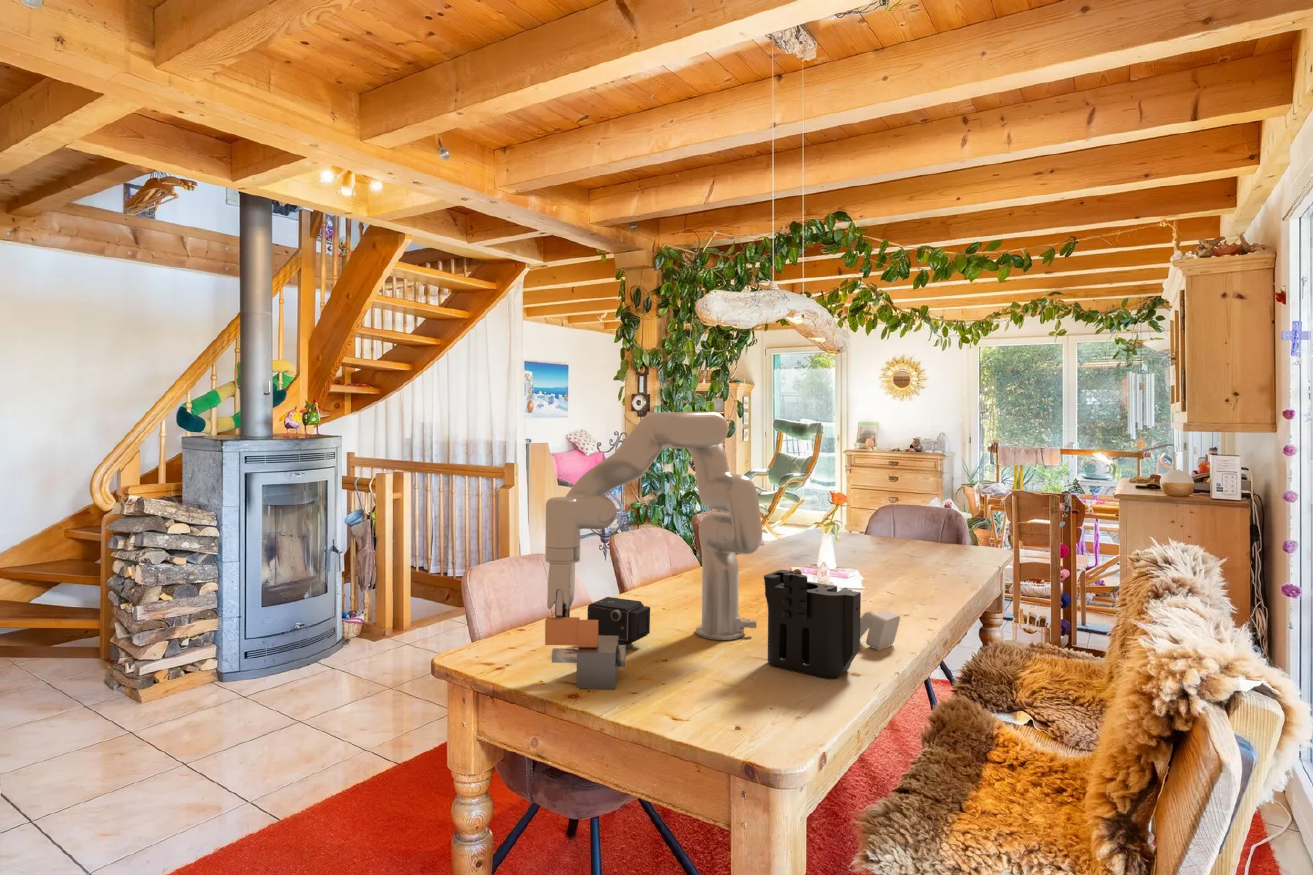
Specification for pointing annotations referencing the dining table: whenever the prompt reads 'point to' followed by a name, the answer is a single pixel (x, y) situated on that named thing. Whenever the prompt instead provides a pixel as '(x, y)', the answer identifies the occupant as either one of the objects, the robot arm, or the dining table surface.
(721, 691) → the dining table surface
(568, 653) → the pin
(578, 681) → the block
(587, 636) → the plate
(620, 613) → the camera
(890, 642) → the wall hook
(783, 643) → the black machined bracket
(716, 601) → the robot arm
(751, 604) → the dining table surface
